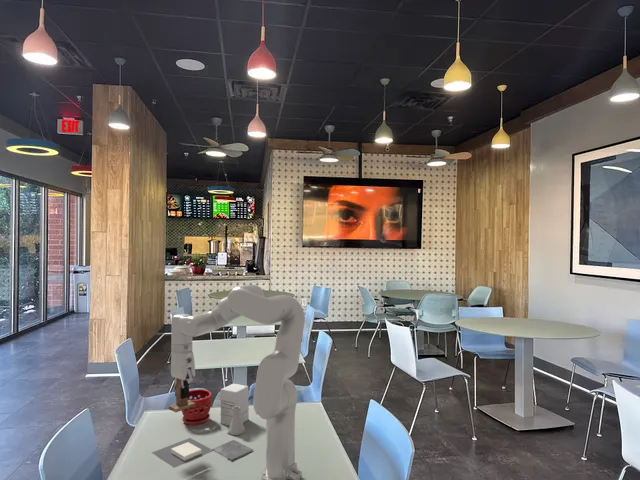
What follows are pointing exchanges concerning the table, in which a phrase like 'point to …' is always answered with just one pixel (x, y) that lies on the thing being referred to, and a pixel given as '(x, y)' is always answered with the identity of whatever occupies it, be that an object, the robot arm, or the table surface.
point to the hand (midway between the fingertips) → (182, 396)
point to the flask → (236, 423)
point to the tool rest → (232, 450)
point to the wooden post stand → (180, 403)
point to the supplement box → (234, 402)
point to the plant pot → (198, 407)
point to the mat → (176, 461)
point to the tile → (186, 451)
